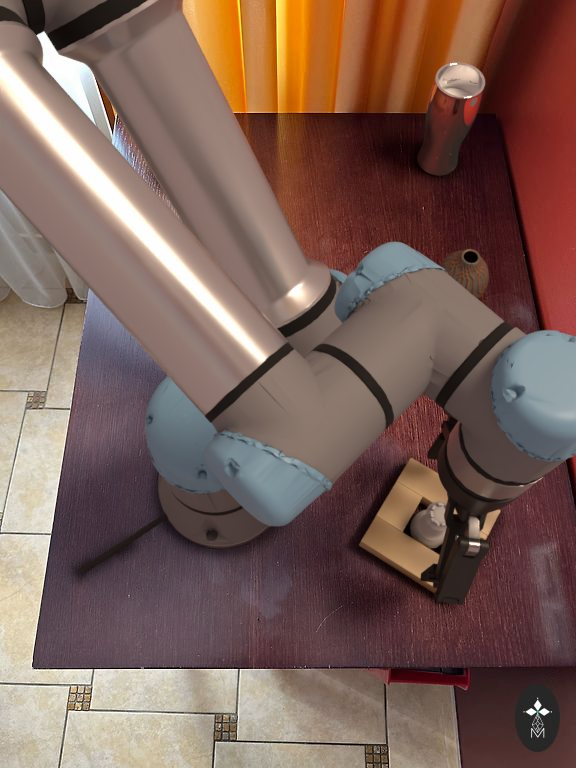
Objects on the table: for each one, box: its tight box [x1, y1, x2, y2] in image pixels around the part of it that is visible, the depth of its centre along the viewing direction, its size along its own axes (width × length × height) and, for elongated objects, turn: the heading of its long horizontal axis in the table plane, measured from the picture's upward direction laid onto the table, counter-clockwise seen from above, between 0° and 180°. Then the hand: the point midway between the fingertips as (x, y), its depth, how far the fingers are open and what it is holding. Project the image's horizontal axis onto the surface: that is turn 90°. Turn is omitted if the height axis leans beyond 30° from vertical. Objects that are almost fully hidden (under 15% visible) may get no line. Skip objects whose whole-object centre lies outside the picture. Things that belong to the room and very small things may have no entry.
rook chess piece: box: [409, 501, 455, 549], centre depth 77 cm, size 4×4×8 cm
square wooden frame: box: [358, 457, 502, 594], centre depth 80 cm, size 12×12×2 cm
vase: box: [438, 248, 490, 300], centre depth 90 cm, size 7×7×9 cm
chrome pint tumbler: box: [416, 61, 486, 177], centre depth 97 cm, size 7×7×15 cm
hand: (436, 515), depth 75 cm, fingers open, 13 cm apart
